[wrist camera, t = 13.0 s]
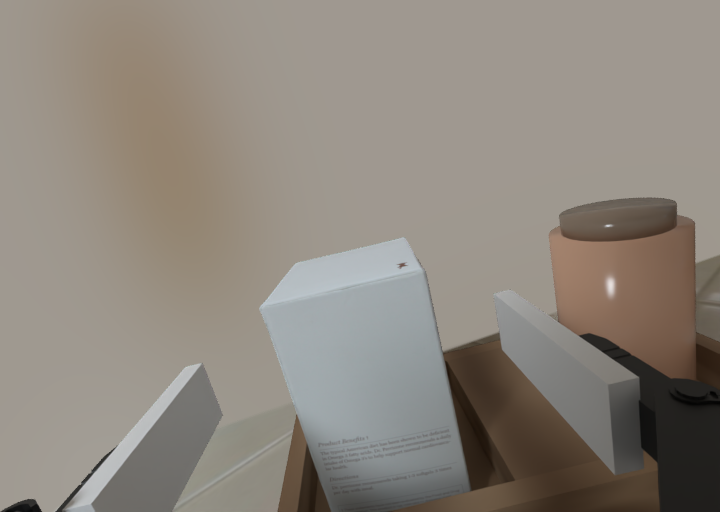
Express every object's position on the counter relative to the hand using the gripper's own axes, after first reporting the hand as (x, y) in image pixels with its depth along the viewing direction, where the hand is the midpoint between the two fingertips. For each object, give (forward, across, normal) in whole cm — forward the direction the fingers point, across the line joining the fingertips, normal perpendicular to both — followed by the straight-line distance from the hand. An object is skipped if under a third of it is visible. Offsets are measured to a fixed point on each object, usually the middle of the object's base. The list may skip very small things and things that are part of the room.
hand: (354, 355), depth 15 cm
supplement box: (+3, 0, -10) cm, 10 cm away
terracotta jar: (+4, +14, -9) cm, 18 cm away
